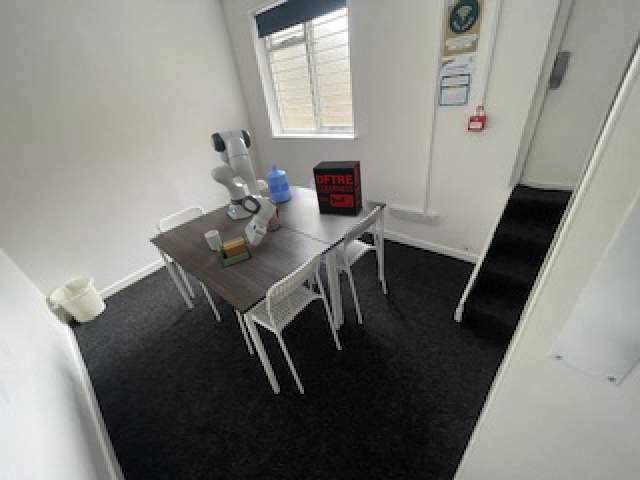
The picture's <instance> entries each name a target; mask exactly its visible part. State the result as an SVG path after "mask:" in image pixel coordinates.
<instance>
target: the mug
mask: <svg viewBox="0 0 640 480" xmlns="http://www.w3.org/2000/svg"><path fill="white" fill-rule="evenodd" d="M279 214H280V213H279V209H278V207H276V210H275V212H274V214H273V216H272V218H271V219H270V220H269V222H268V225H267V226H266V229H267V230H268V231H270V232H274V231H277V230H278V229H279V228H280V227H279Z"/></svg>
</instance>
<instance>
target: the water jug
mask: <svg viewBox="0 0 640 480" xmlns="http://www.w3.org/2000/svg"><path fill="white" fill-rule="evenodd" d="M271 167H272V171H270V172H269V173H268V174H266V177H265V178H266V181H267V185H268V189H269V193H270V196H271V199H272V200H273V201H274V202H275V203H276V204H277V203H279V204H280V203H285V202H287V201H289V200H290V199H291V198H292V194H291V189H290V185H289V180H288V176H287V172H286V171H284V170H280V169H278V168H277V164H271Z"/></svg>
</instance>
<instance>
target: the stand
mask: <svg viewBox="0 0 640 480" xmlns="http://www.w3.org/2000/svg"><path fill="white" fill-rule="evenodd" d="M216 245H217V250H216V251H217V253H218V256H219V258H220V261H221V263H222V265H223V267H224V268H225V267H227V266H230V265H233V264H236V263H240V262H242V261H245V260H247V259H250V255H249V252H248V251H247V252H245V253H242V254H240V255H237V256H234V257H231V258H225V255H226V253H225V250H224V247H221V246H220V244H219V241H218V239H217V240H216Z"/></svg>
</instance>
